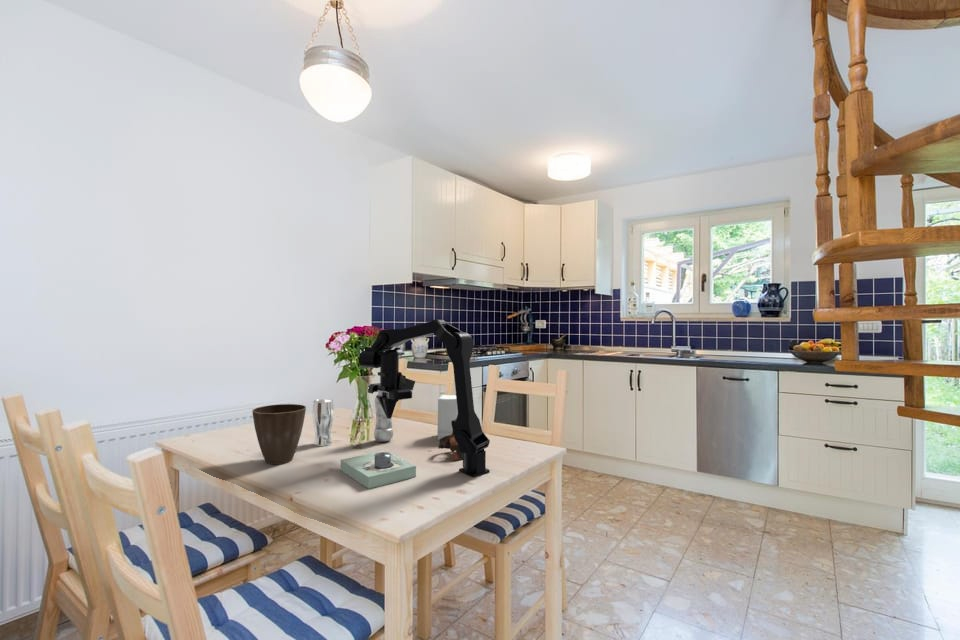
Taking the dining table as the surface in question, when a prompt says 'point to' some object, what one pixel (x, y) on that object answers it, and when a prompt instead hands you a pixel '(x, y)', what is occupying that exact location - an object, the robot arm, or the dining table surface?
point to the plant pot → (278, 431)
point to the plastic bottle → (382, 424)
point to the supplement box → (446, 414)
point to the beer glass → (323, 421)
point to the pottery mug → (451, 446)
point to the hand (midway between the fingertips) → (389, 418)
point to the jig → (377, 470)
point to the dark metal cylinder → (382, 460)
